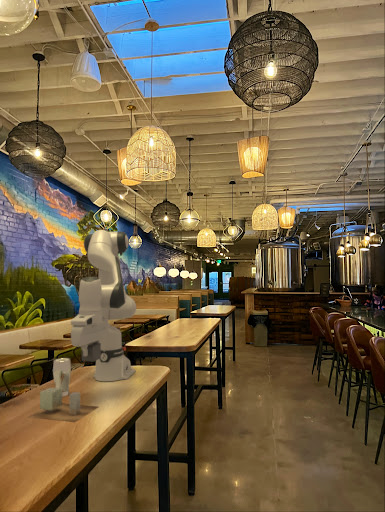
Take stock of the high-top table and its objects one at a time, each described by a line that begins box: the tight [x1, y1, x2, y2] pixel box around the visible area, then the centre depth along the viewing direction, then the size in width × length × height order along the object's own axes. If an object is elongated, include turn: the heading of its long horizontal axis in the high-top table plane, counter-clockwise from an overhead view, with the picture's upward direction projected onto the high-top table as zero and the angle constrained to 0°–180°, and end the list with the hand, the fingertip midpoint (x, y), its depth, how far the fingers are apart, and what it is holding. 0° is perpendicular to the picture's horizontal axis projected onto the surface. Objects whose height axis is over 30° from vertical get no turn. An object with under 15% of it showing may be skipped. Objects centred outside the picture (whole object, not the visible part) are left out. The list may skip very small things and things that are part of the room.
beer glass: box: [52, 357, 72, 397], centre depth 152 cm, size 7×7×15 cm
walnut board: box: [28, 402, 99, 423], centre depth 131 cm, size 15×19×1 cm
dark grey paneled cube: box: [80, 342, 101, 362], centre depth 143 cm, size 5×5×6 cm
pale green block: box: [39, 387, 63, 413], centre depth 132 cm, size 5×5×8 cm
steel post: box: [68, 391, 81, 416], centre depth 129 cm, size 3×3×7 cm
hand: (91, 354), depth 143 cm, fingers closed on dark grey paneled cube, 5 cm apart
